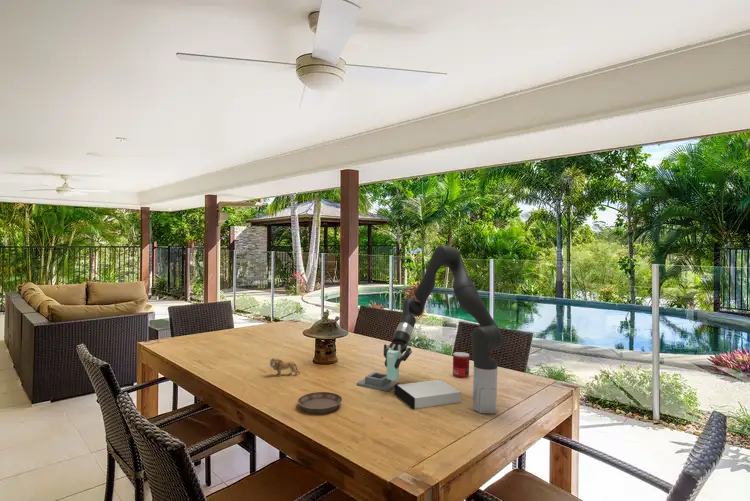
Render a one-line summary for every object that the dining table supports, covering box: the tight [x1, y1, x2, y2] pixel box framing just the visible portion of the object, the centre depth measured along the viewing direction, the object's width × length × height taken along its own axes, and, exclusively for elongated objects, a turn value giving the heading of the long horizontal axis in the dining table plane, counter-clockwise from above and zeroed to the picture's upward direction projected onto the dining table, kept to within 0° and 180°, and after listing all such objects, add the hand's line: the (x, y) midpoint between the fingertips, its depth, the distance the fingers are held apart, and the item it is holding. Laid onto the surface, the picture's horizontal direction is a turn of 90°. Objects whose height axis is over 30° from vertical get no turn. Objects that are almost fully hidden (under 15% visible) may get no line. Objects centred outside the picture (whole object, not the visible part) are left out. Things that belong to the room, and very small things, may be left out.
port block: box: [356, 371, 400, 392], centre depth 197 cm, size 16×12×4 cm
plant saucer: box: [297, 391, 343, 414], centre depth 169 cm, size 18×18×3 cm
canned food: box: [452, 351, 470, 379], centre depth 213 cm, size 8×8×11 cm
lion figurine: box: [269, 357, 301, 377], centre depth 208 cm, size 15×5×9 cm, turn 109°
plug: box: [386, 349, 400, 381], centre depth 188 cm, size 4×4×12 cm
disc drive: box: [394, 379, 462, 410], centre depth 181 cm, size 18×22×5 cm
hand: (390, 366), depth 186 cm, fingers closed on plug, 4 cm apart
